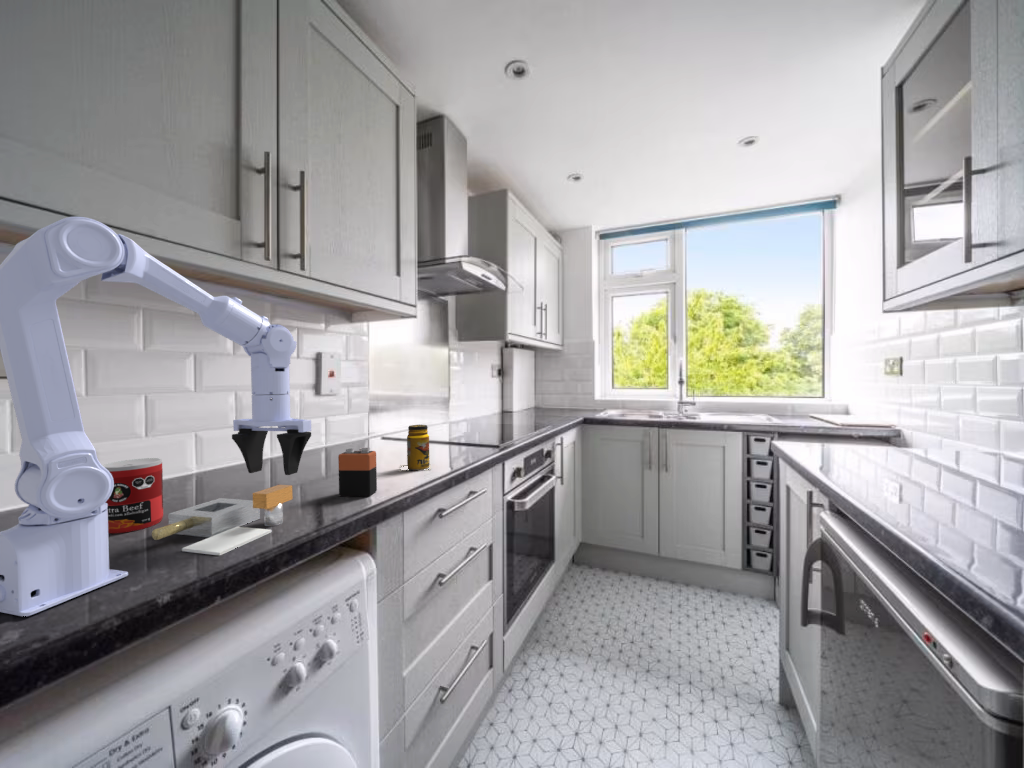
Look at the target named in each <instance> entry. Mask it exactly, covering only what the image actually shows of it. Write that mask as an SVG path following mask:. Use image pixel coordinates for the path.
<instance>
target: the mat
mask: <svg viewBox="0 0 1024 768" xmlns="http://www.w3.org/2000/svg"><path fill="white" fill-rule="evenodd" d="M272 531H273V530H272V529H267V528H266V529H265V528H258V527H257V528H256V527H248V526H247V527H246V526H240V527H235V528H232V529H230V530H227V531H225V532H222V533H220V534H217V535H214V536H212V537H206V538H205V539H202V540H200V541H197V542H195V543H191V544H189V545H187V546H184V547H182V548H181V552H187V553H195V554H203V555H204V554H205V555H213V556H222V555H224V554H226V553H229V552H230V551H233V550H236V549H238V548H240V547H242V546H244V545H246V544H249V543H251V542H253V541H255V540H258V539H260V538H262V537H264V536H267V535H268V534H271V533H272ZM237 547H238V548H237ZM235 548H236V549H235Z"/></svg>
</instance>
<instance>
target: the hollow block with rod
mask: <svg viewBox="0 0 1024 768" xmlns="http://www.w3.org/2000/svg"><path fill="white" fill-rule="evenodd" d="M167 516H168V518H167V519H168V524H166V525H164V526H161V527H158V528H155V529H153V530H152V532H151V537H152V539H153V540H155V541H158V540H161V539H164V538H166V537H170V536H173V535H181V536H182V535H184V536H191V537H200V538H201V537H202V538H209V537H212V536H214V535H217V534H220V533H222V532H225V531H227V530H230V529H232V528H235V527H244V525H247V523H248V524H249V523H253V522H255V521H257V520H261V509H260V508H253V499H240V498H239V499H238V498H225V497H219V498H216V499H212V500H210V501H206V502H203V503H200V504H197V505H193V506H192V505H191V506H188V507H186V508H183V509H179V510H177V511H173V512H169V513H168V515H167ZM252 521H253V522H252Z"/></svg>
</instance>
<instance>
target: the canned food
mask: <svg viewBox="0 0 1024 768" xmlns="http://www.w3.org/2000/svg"><path fill="white" fill-rule="evenodd" d="M102 466H104V467H105V468H106V469H107V470H108V471H109V472H110V473H111V475H112V477H113V480H114V488H113V491H112V494H111V496H110V497H109V499H108V500H107V501H106V502H105V503H107V504H108V507H107V509H108V534H124V533H130V532H135V531H140V530H145V529H147V528H150V527H153V526H155V525H158V524H159V523H161V521H162V520H163V517H164V489H163V488H164V486H163V484H164V483H163V481H164V480H163V475H164V474H163V461H162V458H158V457H157V458H156V457H153V458H152V457H151V458H149V457H147V458H136V459H135V458H134V459H128V460H127V459H126V460H121V461H114V462H108V463H106V464H103V465H102Z"/></svg>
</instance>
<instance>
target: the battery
mask: <svg viewBox="0 0 1024 768" xmlns="http://www.w3.org/2000/svg"><path fill="white" fill-rule="evenodd" d="M377 479H378V478H377V452H376V451H375V450H371V448H370V447H360V448H359V450H354V448H346V449H345V451H344V452H342V453H339V454H338V495H339V497H341V498H343V497H344V498H345V497H350V498H351V497H352V498H353V497H357V498H358V497H359V498H360V497H362V498H368V497H371V496H372V495H373V494H375V493H376V492H377V491H378V489H377V488H378V487H377V486H378V485H377V483H378V482H377V481H378V480H377Z"/></svg>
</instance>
